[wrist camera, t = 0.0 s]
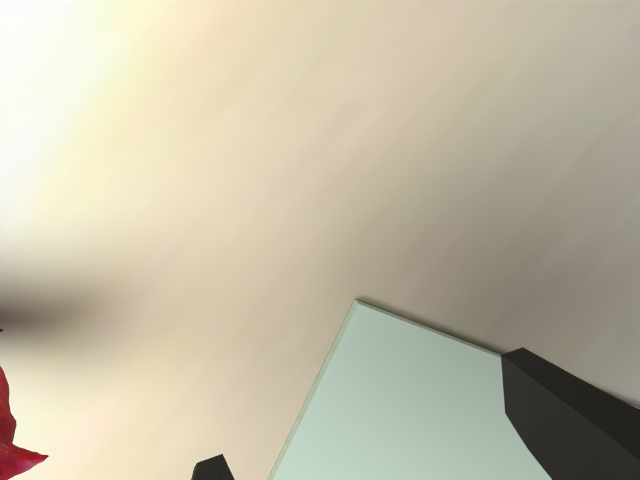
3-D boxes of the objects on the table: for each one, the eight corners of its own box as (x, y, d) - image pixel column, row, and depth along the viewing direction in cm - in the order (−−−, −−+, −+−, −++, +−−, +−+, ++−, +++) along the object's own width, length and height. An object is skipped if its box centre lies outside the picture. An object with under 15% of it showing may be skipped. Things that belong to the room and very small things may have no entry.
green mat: (564, 566, 30) (571, 575, 29) (261, 492, 24) (262, 501, 24) (658, 414, 28) (667, 420, 27) (355, 299, 23) (358, 303, 22)
